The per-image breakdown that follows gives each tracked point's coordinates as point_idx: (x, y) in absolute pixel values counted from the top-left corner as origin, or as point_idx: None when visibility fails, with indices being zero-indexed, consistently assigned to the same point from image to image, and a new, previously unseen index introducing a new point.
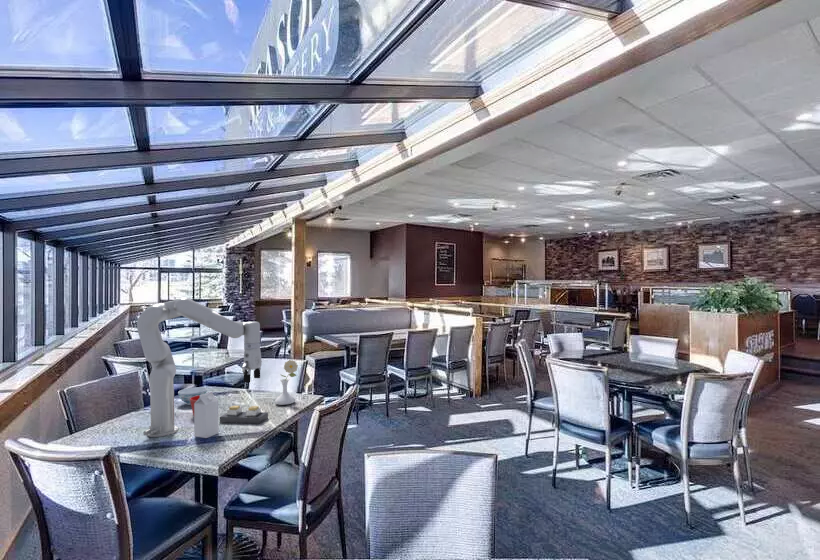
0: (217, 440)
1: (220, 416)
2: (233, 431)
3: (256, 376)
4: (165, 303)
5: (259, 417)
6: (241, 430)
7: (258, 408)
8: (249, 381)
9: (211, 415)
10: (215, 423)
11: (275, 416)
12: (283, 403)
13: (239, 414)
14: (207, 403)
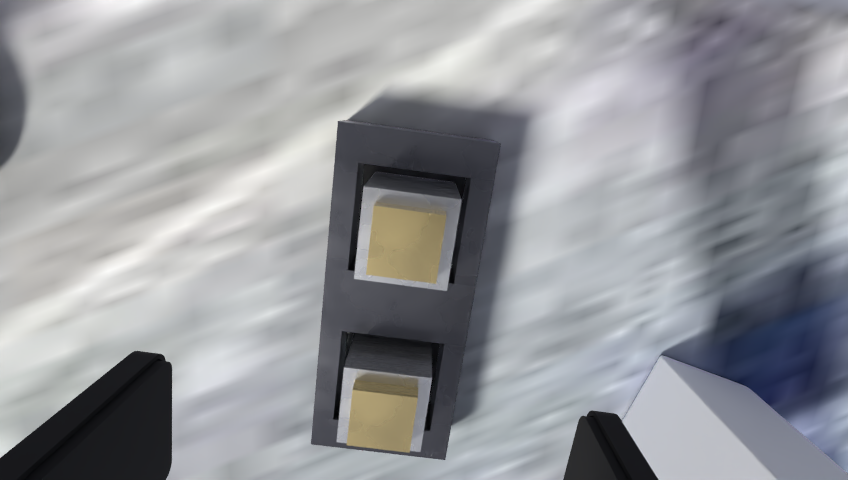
0: (800, 304)
1: (435, 458)
2: (636, 272)
3: (150, 442)
4: None
5: (486, 147)
6: (624, 224)
7: (388, 199)
8: (618, 427)
9: (816, 470)
10: (726, 405)
11: (294, 70)
12: None
13: (387, 346)
14: None
